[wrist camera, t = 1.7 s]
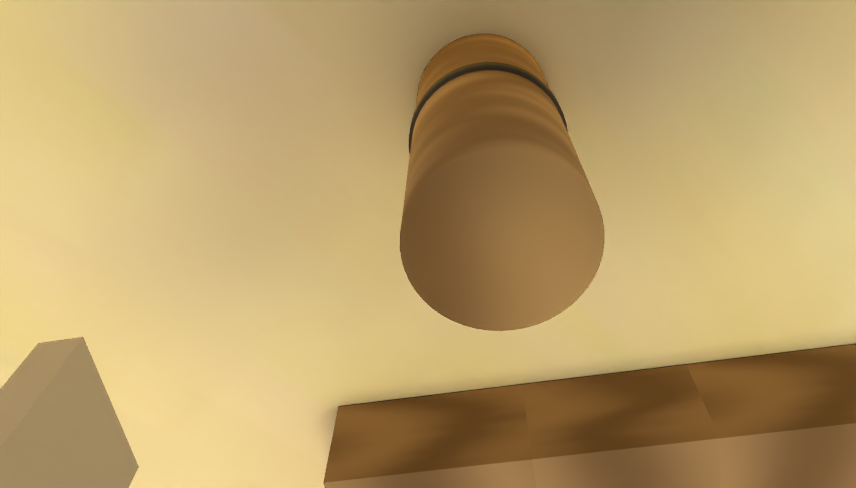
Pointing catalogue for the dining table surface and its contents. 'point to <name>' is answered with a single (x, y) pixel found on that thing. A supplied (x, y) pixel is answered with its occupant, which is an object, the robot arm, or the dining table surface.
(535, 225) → the dowel
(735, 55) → the dining table surface
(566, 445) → the board
